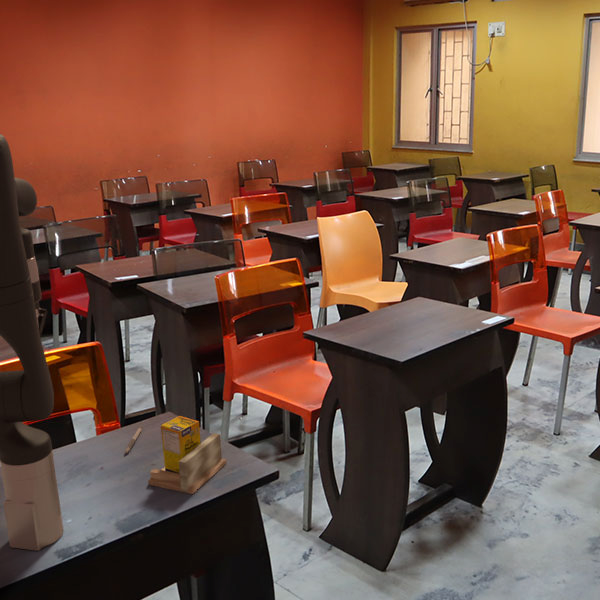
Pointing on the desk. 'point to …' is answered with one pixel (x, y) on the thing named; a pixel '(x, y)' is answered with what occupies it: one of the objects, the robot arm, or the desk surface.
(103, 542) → the desk surface
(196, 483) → the backstop pocket
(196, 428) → the supplement box
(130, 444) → the pen
